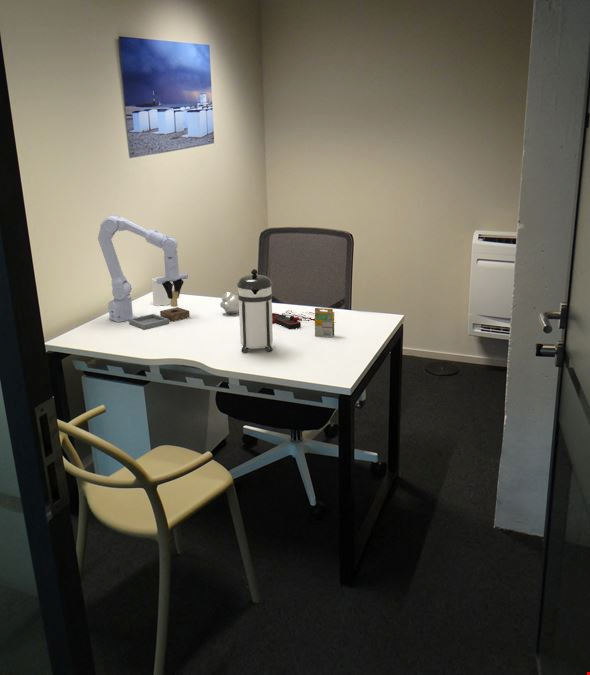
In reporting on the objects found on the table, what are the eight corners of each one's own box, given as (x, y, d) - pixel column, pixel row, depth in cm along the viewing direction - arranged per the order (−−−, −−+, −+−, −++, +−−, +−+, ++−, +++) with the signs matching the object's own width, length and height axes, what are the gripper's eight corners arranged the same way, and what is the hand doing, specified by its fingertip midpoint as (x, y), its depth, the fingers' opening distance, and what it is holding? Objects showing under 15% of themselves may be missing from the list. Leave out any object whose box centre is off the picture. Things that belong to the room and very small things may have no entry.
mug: (180, 303, 317) (178, 278, 313) (168, 307, 310) (166, 282, 306) (161, 300, 323) (159, 275, 319) (149, 304, 316) (147, 279, 312)
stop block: (172, 321, 288) (171, 314, 287) (160, 317, 294) (160, 311, 293) (189, 317, 294) (189, 310, 293) (177, 313, 300) (177, 307, 299)
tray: (144, 329, 277) (144, 324, 276) (129, 323, 285) (128, 319, 285) (169, 323, 285) (169, 319, 284) (153, 318, 293) (153, 313, 293)
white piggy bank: (222, 311, 303) (221, 289, 300) (243, 311, 303) (242, 289, 300) (219, 316, 295) (218, 294, 291) (241, 316, 294) (240, 294, 291)
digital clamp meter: (291, 323, 270) (259, 309, 290) (291, 333, 271) (259, 319, 291) (338, 313, 282) (304, 301, 302) (338, 324, 283) (304, 310, 303)
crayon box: (334, 335, 267) (334, 307, 263) (332, 337, 264) (332, 309, 260) (316, 334, 268) (316, 305, 265) (314, 336, 266) (314, 307, 262)
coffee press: (287, 347, 253) (285, 268, 244) (254, 357, 243) (252, 275, 234) (256, 337, 265) (254, 262, 256) (224, 346, 254) (220, 268, 245)
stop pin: (173, 307, 290) (172, 292, 288) (169, 306, 292) (168, 291, 290) (179, 306, 292) (178, 291, 290) (175, 304, 294) (174, 290, 292)
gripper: (162, 270, 279) (164, 302, 283) (191, 265, 289) (192, 296, 293) (152, 268, 284) (155, 299, 288) (181, 263, 294) (183, 293, 298)
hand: (173, 297), depth 291 cm, fingers closed on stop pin, 3 cm apart
